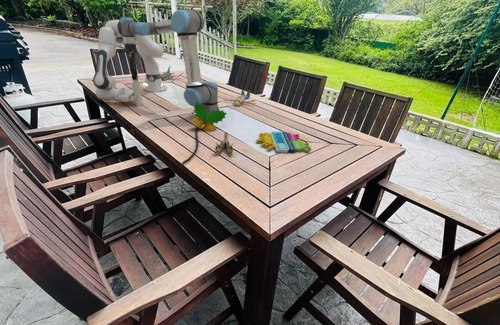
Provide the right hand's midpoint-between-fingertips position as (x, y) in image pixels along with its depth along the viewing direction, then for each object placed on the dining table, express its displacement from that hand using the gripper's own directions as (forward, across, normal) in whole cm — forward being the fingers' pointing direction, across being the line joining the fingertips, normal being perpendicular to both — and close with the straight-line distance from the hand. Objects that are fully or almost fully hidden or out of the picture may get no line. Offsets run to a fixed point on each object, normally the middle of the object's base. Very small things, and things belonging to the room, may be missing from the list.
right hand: (135, 78), depth 188 cm
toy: (+19, +6, -80) cm, 83 cm away
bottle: (+19, 0, 0) cm, 19 cm away
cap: (-2, 0, 0) cm, 2 cm away
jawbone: (+19, -84, -53) cm, 101 cm away
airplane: (+19, +87, -14) cm, 90 cm away
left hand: (+12, 0, -1) cm, 13 cm away
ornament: (+19, -52, -48) cm, 73 cm away
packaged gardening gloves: (+19, -77, -88) cm, 118 cm away
